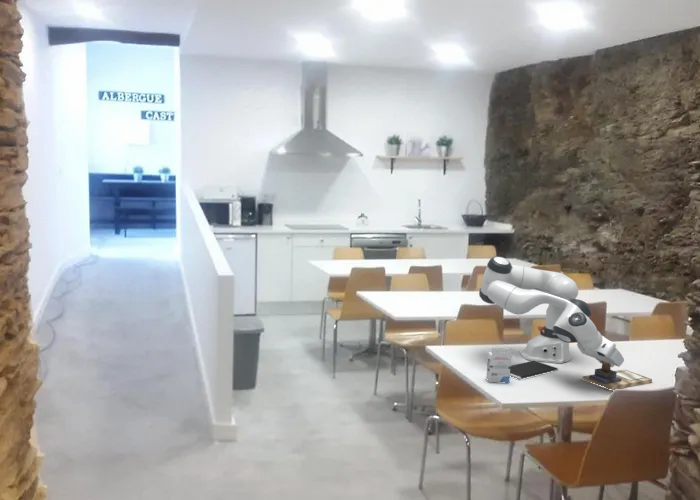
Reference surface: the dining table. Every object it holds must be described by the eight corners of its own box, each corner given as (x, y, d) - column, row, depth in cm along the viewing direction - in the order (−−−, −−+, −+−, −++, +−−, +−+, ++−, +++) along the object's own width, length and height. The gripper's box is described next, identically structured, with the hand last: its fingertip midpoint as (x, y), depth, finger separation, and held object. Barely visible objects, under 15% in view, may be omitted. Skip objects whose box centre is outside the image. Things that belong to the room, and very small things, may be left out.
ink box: (505, 379, 288) (508, 344, 286) (509, 383, 283) (512, 348, 281) (485, 378, 287) (488, 344, 285) (489, 382, 282) (492, 347, 280)
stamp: (606, 379, 285) (608, 358, 283) (594, 374, 290) (596, 354, 289) (616, 377, 288) (618, 356, 286) (604, 373, 293) (606, 352, 291)
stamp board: (609, 390, 280) (610, 383, 280) (582, 379, 293) (583, 372, 292) (651, 382, 293) (652, 375, 293) (624, 372, 305) (624, 365, 305)
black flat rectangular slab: (558, 371, 304) (559, 368, 304) (519, 381, 287) (520, 377, 287) (533, 363, 314) (534, 359, 314) (494, 372, 298) (495, 368, 297)
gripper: (569, 342, 290) (583, 362, 296) (609, 356, 273) (623, 377, 279) (578, 331, 292) (592, 351, 298) (618, 344, 274) (632, 365, 280)
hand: (607, 364), depth 288 cm, fingers closed on stamp, 3 cm apart
